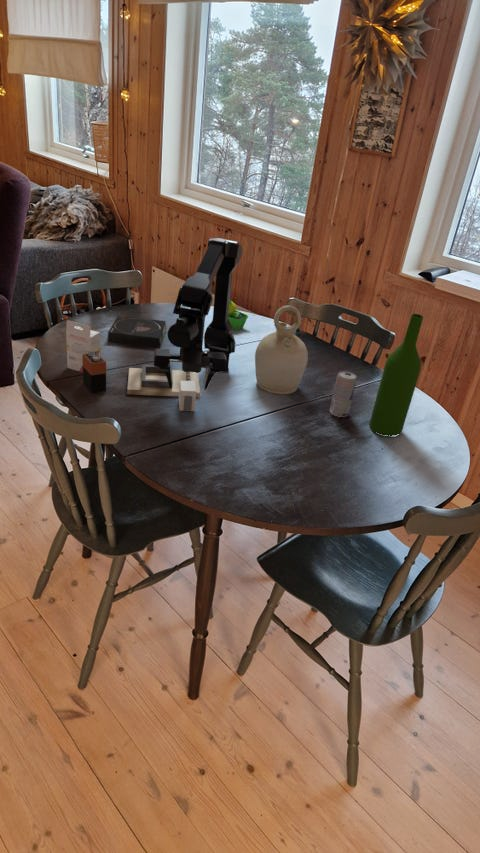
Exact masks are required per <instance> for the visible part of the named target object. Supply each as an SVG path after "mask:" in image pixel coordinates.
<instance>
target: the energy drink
mask: <svg viewBox="0 0 480 853" xmlns="http://www.w3.org/2000/svg"><path fill="white" fill-rule="evenodd" d="M357 377H358V376H357V375H356V374H355V373H353V372H351V371H349V370H348V371H346V370H341V371H339V372H338V373H337V376H336V381H335V384H334V388H333V394H332V398H331V402H330V407H329V412H330V414H331V415H332V416H333V415H334V417H336V416H337V417H336V418H340V417H343V418H346V417H348V416H349V412H350V408H351V406H352V405H351V404H352V401H353V396H354V394H355V393H354V392H355V388H356V383H357V380H358V379H357Z"/></svg>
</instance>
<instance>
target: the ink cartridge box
mask: <svg viewBox="0 0 480 853" xmlns="http://www.w3.org/2000/svg"><path fill="white" fill-rule="evenodd" d="M91 328H92V327H91V325H87V324H83V323H80V322H76V321H72V320H69V319H67V320H66V331H65V339H66V358H67V359H66V361H67V362H66V363H67V365H66V366H67V368H68V369H70V370H73V371H76V372H77V371H78V372H80V373H83V358H82V355H83V354H88V353H89V352H90V351H93V352H95V353H98V354H99V355H100V356H101V332H100V331H96V330H92V329H91Z"/></svg>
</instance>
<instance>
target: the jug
mask: <svg viewBox="0 0 480 853" xmlns="http://www.w3.org/2000/svg"><path fill="white" fill-rule="evenodd" d="M286 312H292V313H293V314H294V316H295V322H294V323H293V324H292V325H290V326H288V323H287V322H284V321H282V322H280V318H281V316H282V315H283V314H284V313H286ZM301 322H302V316H301V313H300V311H299V309H297V308H296V307H295V306H294V305H290V304H287V305H283V306H281V307H280V308H278V309H277V310H276V312H275V314H274V317H273V323H274V324H273V325H274V327H275V329H276V330H275V331H274V332H272V333H269V334H267V335H265V336H264V337H263V338H262V339H260V341H259V343H258V345H257V346H256V349H255V352H254V354H255V355H254V364H255V378H256V383H257V386H258V387H259V388H260V389H261V390H263V391H265V392H267V393H270V394H274V395H282V396H283V395H289V394H294V393H295V392H296V391H297V390H298V386H299V385H300V383H301V381H302V378H303V376H304V373H305V370H306V368H307V365H308V357H309V356H308V349H307V346H306V345H305V343H304V342H303V341H302V339H301V338H299V337H298V336H297V335H296V334H294V332H295V331H297V329H299V327H300V325H301Z"/></svg>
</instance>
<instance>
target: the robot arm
mask: <svg viewBox="0 0 480 853" xmlns="http://www.w3.org/2000/svg"><path fill="white" fill-rule="evenodd" d="M242 256H243V246H242V245H241V244H240V242H239V241H237V240H231V239H225V238H222V237H220V238H219V237H216V238H215V237H213V238H210V239H208V242H207V248H206V250H205V252H204V254H203V257H202V259H201V260H200V264H199V265H198V267H197V270H196V272H195V273H194V274H193V275H191V276H190V277H187V278H186V280H185V281H184V283H183V285H182V286H180V287H179V289H178V290H179V291H178V293H177V296H176V297H177V298H176V301H175V303H174V304H175V305H174V308H173V313H172V314H174V315H178V317H177V318H176V320H175V322H174V323H173V324H172V325H170V326H169V328H168V330H167V339H168V341H169V342H170V344H171V345H173V346H174V347H176V348H179V353H175V354H174V353H170V349H169V348H155V350H154V351H153V365H154V366H156V367H159V369H161V370H163V371H164V372H165V374H166V377H167V380H168V383H169V387H170V388H172V379H171V368H170V366H171V363H181V371H184V372H196V373H197V374H198V373H199V374H200V373H201V372H202V369H206V373H205V378H204V379H205V380H204V388H203V389H204V391H207V389H208V387H209V385H210V384H211V381H212V379H213V378H214V376H215V375H216V374H217V373H222V372H229V371H230V369H229V363H230V362H229V361H230V355H231V354H233V353H235V351H236V339H235V335H234V334H233V332H234V330H233V327H232V325H231V323H230V321H229V319H228V316H229V305H230V299H231V294H232V292H231V291H232V282H233V273H234V272H233V271H234V270H235V269H236V268H237V266H238V265H239V263H240V260H241V259H242ZM214 280H215V286H214V287H215V288H214V297H213V293H212V285H213V282H214ZM212 304H213V312H212V319H211V320H212V321H211V322H210V323H209V324H208V326H207V327H206V329H205V323H206V322H205V320H206V317H207V316H209V313H210V309H211V307H212ZM203 346H204V347H203ZM203 348H204V349H205V350H206V349H207V351H206V352H205V351H203Z"/></svg>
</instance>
